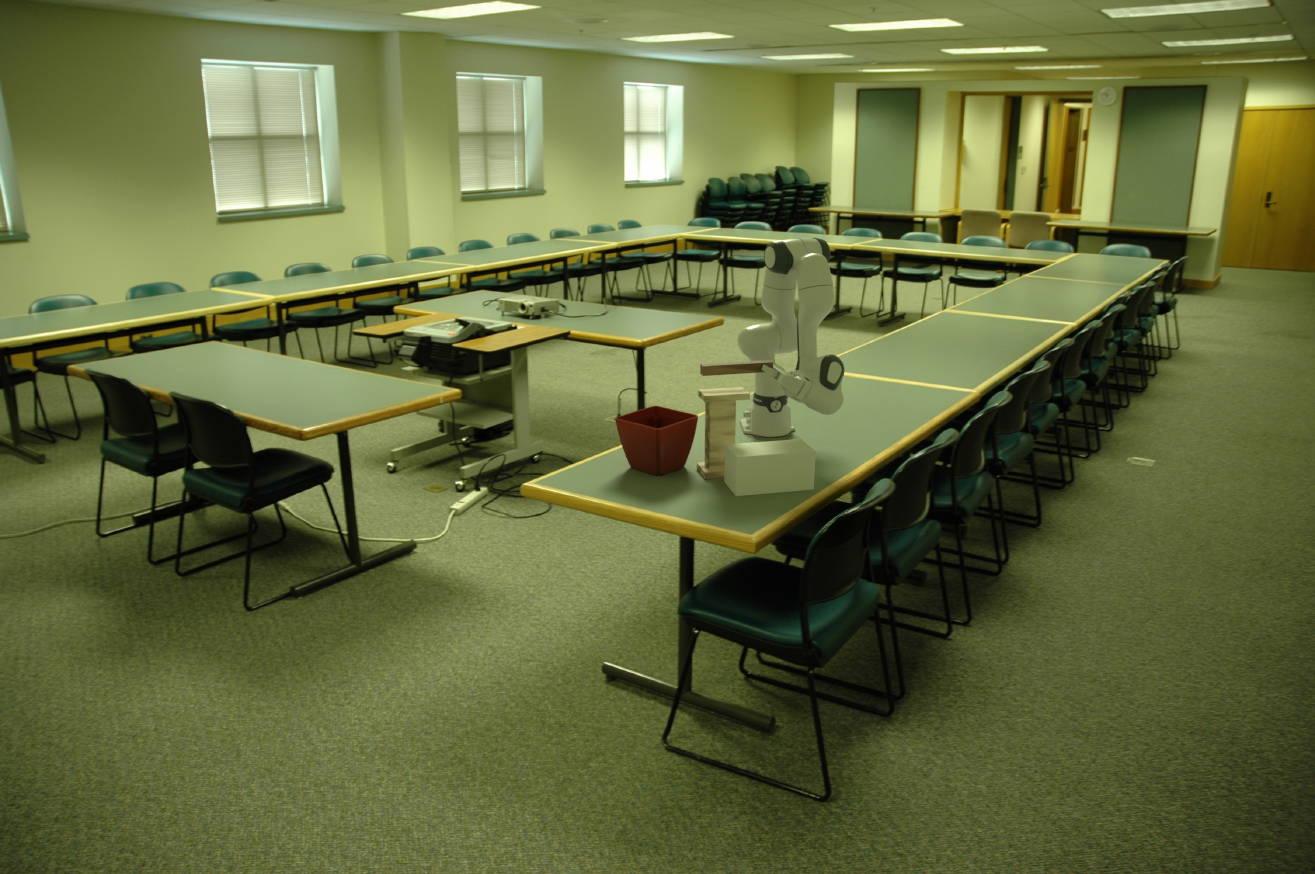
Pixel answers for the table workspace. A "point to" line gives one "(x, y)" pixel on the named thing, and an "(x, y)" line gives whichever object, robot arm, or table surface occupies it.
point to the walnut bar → (734, 367)
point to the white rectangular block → (769, 467)
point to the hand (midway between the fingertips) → (759, 365)
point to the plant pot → (657, 438)
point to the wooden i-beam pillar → (719, 427)
